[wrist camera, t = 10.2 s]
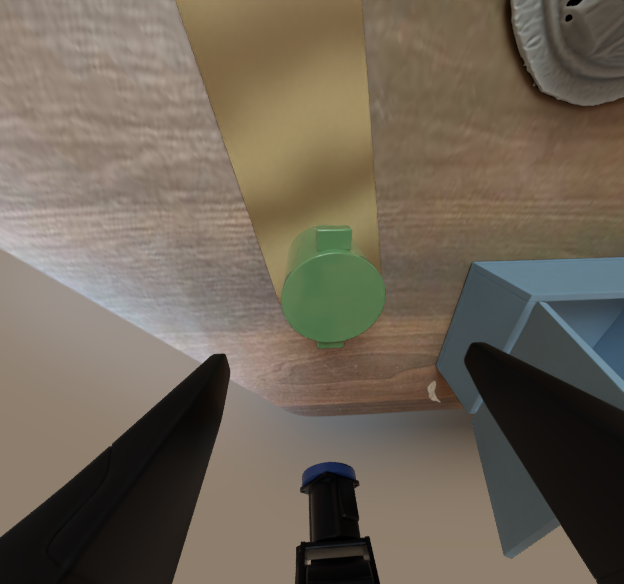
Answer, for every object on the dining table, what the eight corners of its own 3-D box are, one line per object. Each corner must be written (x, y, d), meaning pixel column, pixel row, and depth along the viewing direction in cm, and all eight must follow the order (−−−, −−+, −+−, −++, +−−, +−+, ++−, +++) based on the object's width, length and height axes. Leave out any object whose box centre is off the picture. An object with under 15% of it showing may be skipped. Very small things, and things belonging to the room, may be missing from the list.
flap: (476, 422, 17) (470, 421, 17) (546, 302, 12) (538, 301, 12) (511, 559, 11) (503, 555, 11) (684, 440, 6) (665, 435, 6)
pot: (355, 302, 18) (376, 352, 13) (289, 304, 18) (286, 356, 13) (364, 209, 14) (397, 230, 10) (282, 210, 14) (274, 234, 9)
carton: (435, 365, 22) (468, 414, 18) (472, 261, 17) (532, 294, 13) (580, 358, 23) (646, 404, 18) (661, 255, 17) (781, 285, 13)
